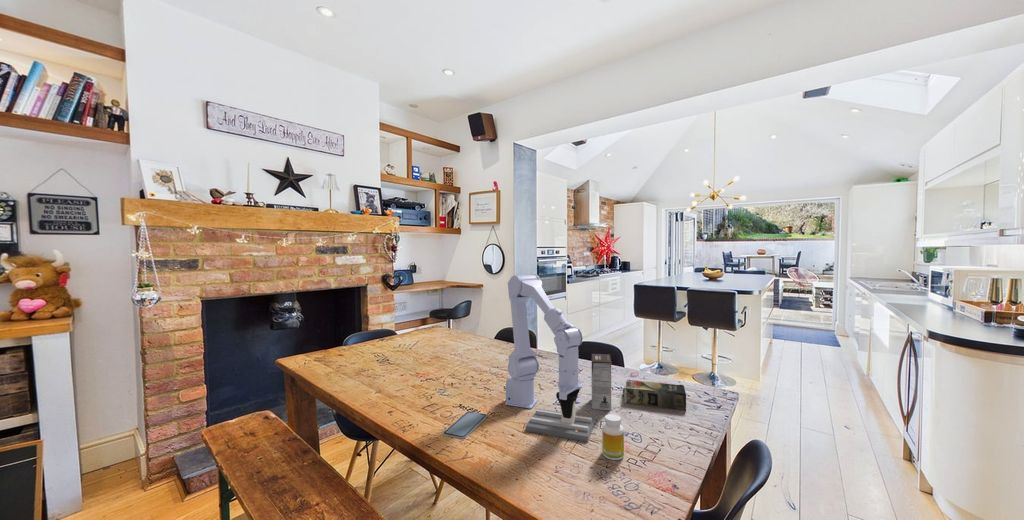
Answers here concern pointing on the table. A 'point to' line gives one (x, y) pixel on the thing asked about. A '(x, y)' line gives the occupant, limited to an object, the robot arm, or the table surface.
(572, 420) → the fader tab
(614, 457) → the supplement bottle
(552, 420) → the grey slider track
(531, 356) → the robot arm
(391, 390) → the table surface
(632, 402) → the juice carton
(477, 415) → the smartphone
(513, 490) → the table surface
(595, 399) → the coffee box
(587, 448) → the table surface
